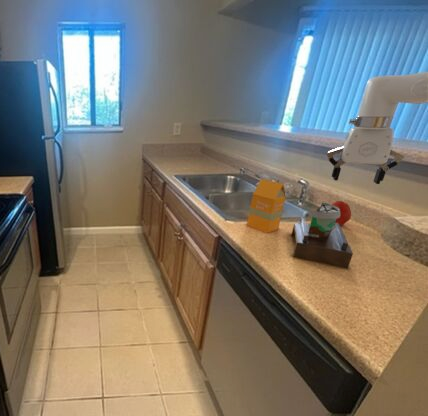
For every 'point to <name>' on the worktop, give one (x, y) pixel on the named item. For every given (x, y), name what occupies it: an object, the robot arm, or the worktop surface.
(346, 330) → the worktop surface
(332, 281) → the worktop surface
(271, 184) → the orange juice
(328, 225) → the food container
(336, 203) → the apple
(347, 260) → the dark wooden tray
